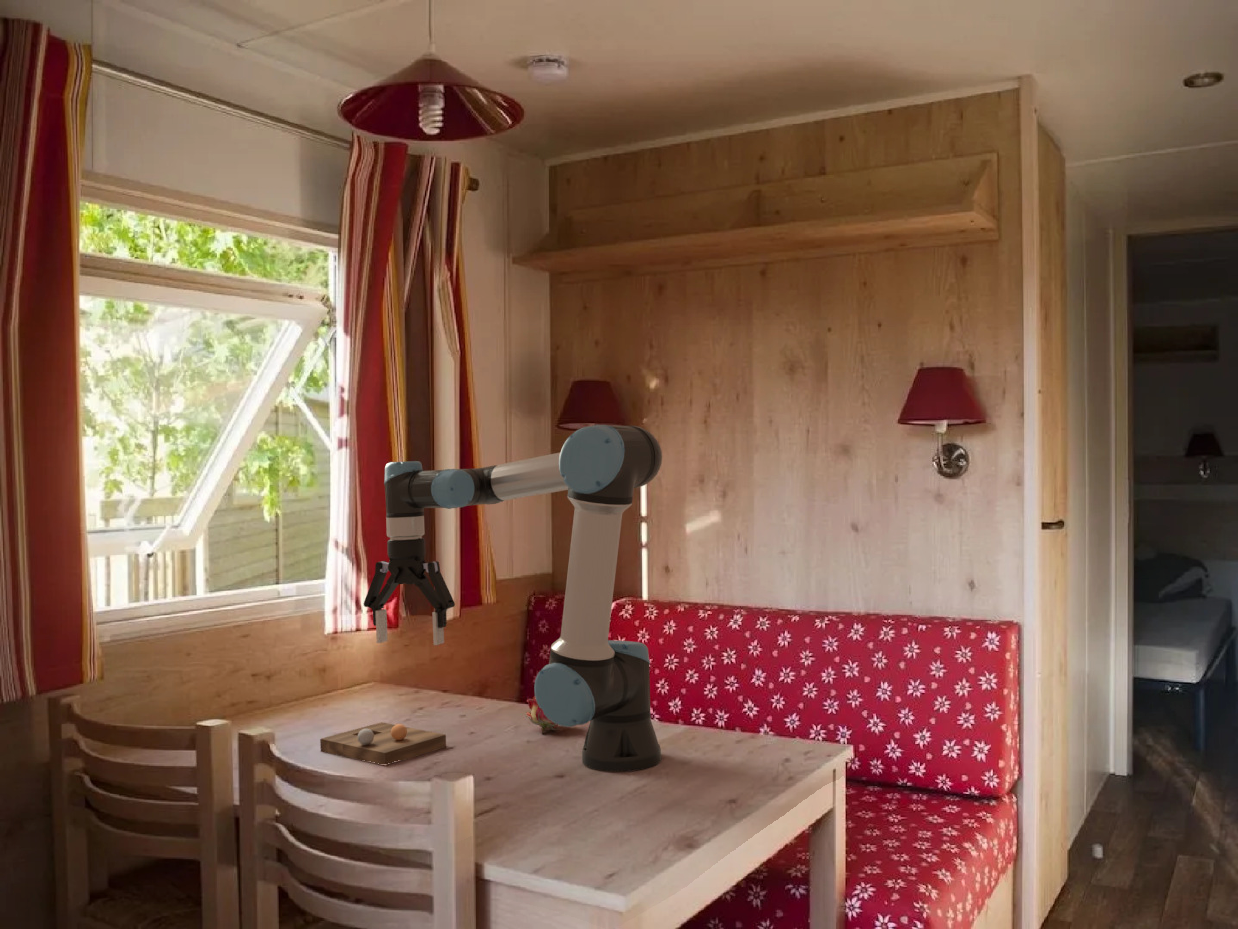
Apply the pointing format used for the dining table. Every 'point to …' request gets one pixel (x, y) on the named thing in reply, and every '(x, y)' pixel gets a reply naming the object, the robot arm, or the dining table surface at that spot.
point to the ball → (399, 732)
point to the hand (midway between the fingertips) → (410, 643)
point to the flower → (539, 716)
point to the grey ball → (365, 736)
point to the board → (383, 744)
